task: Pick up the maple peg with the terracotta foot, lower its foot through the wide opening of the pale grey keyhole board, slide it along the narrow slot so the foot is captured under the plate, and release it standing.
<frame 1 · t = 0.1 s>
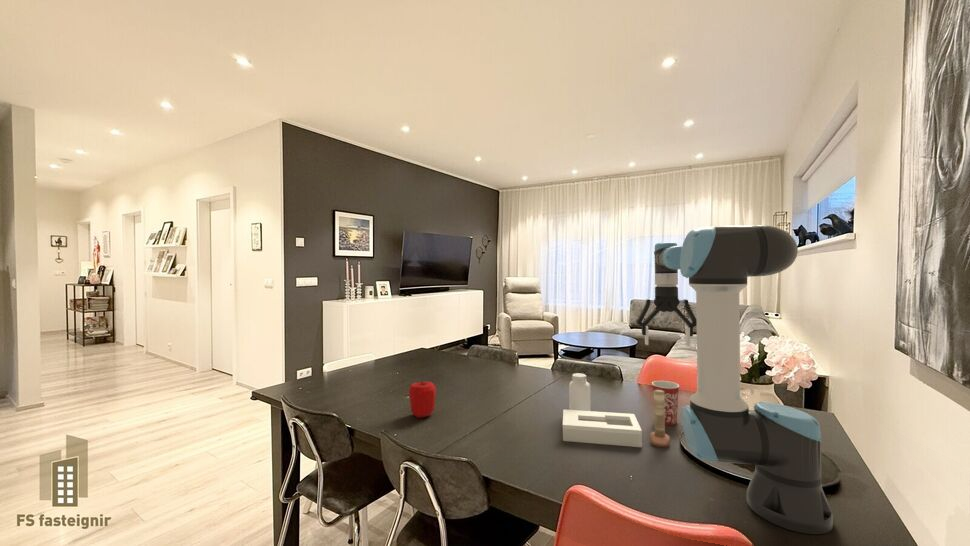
hand: (667, 345, 136), 28 cm above the table, fingers open, 13 cm apart
red rounded lump: (422, 416, 146), on the table
pill bottle: (579, 414, 146), on the table
peg: (659, 443, 120), on the table
keyhole board: (599, 434, 127), on the table
mug: (666, 420, 139), on the table
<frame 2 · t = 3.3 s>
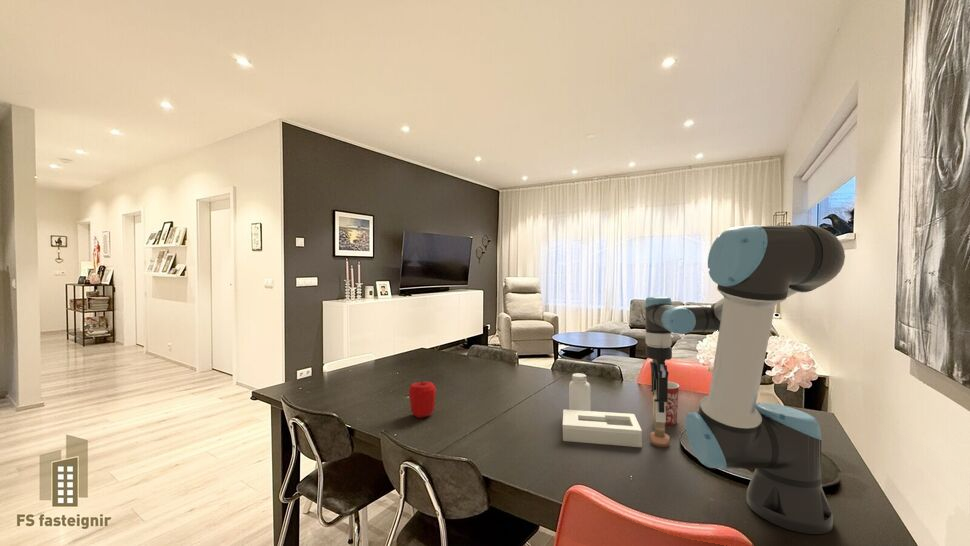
hand: (659, 419, 120), 8 cm above the table, fingers closed on peg, 3 cm apart
peg: (659, 443, 120), on the table, touching gripper
everything else where it was.
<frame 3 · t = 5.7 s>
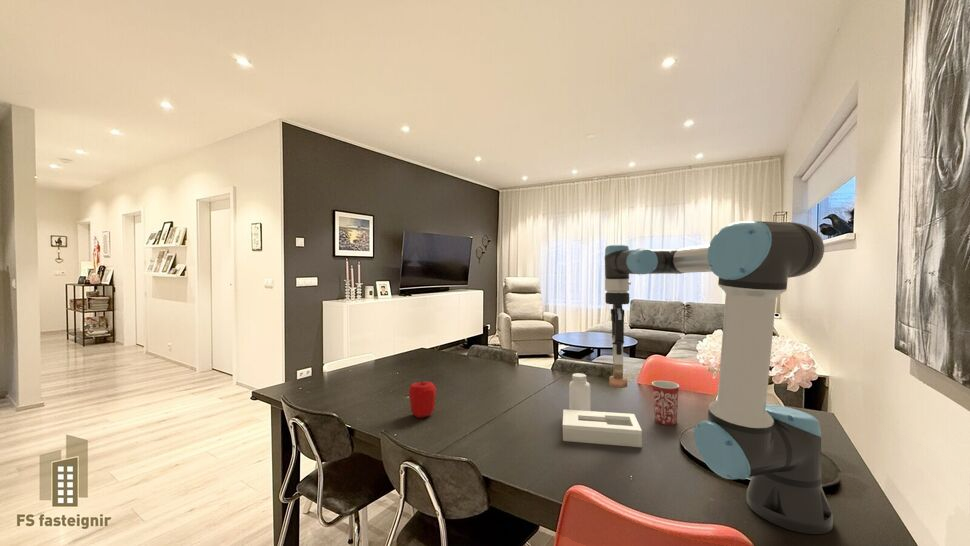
hand: (617, 362, 125), 24 cm above the table, fingers closed on peg, 3 cm apart
peg: (618, 385, 125), point 17 cm above the table, touching gripper
everything else where it was.
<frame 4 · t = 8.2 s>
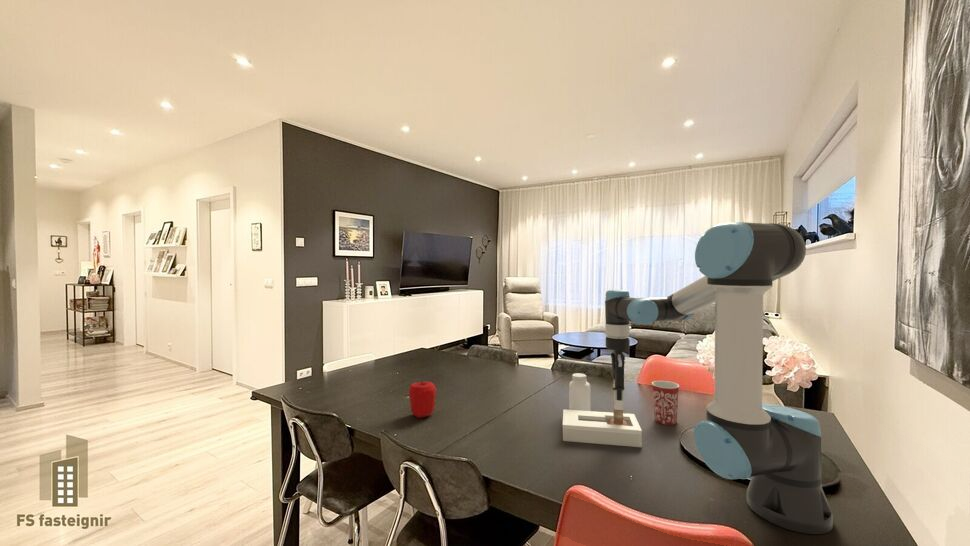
hand: (618, 407, 126), 10 cm above the table, fingers closed on peg, 3 cm apart
peg: (618, 429, 126), point 2 cm above the table, touching gripper
everything else where it was.
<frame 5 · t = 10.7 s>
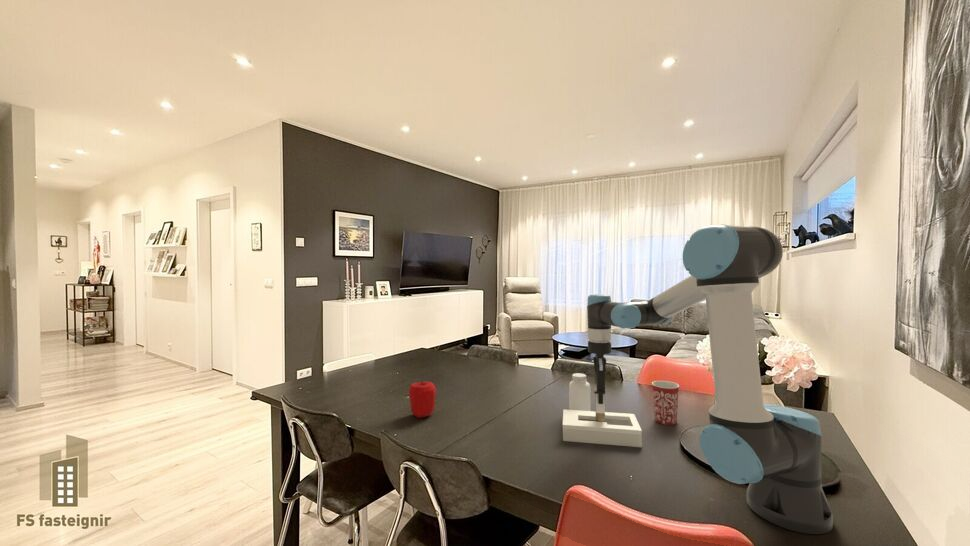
hand: (600, 410, 127), 8 cm above the table, fingers closed on peg, 3 cm apart
peg: (600, 433, 127), resting in keyhole board, touching gripper
everything else where it was.
when the fingers open (8 cm above the table, at t = 12.9 s): peg stays where it is, resting in keyhole board.
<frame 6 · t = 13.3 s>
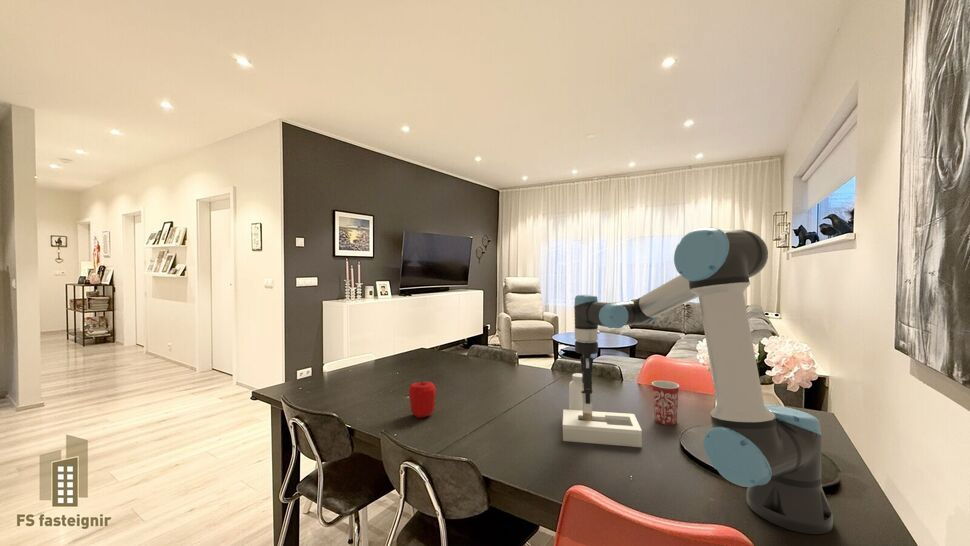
hand: (587, 407, 128), 9 cm above the table, fingers open, 9 cm apart
peg: (587, 433, 128), resting in keyhole board
everything else where it was.
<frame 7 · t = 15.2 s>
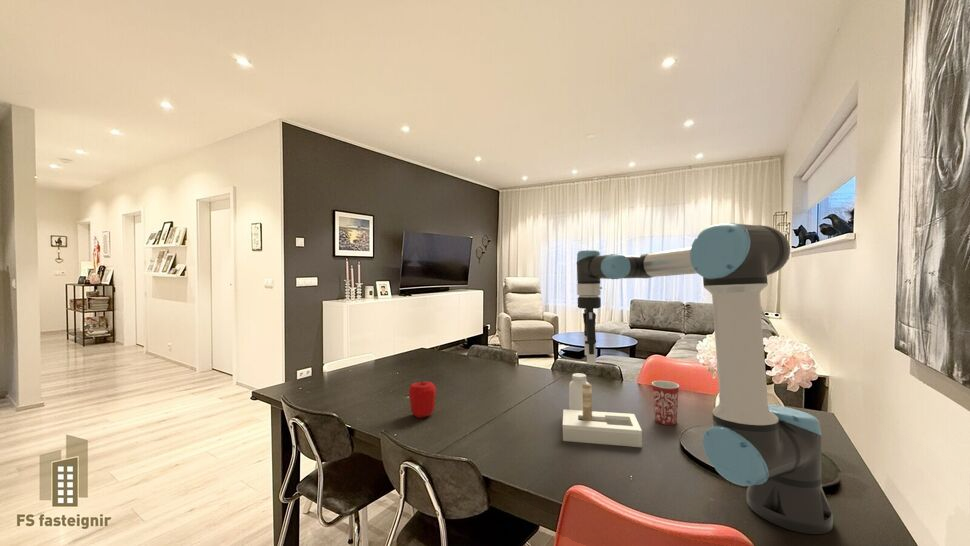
hand: (590, 359, 128), 25 cm above the table, fingers open, 13 cm apart
nothing on the table moved.
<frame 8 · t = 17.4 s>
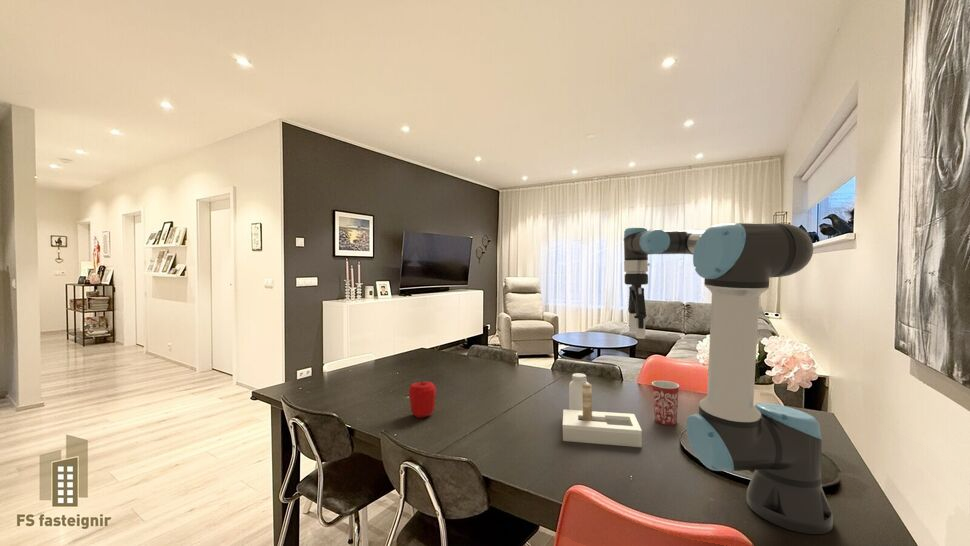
hand: (636, 335, 130), 33 cm above the table, fingers open, 13 cm apart
nothing on the table moved.
at the end: peg 0.5 cm from the target spot on the keyhole board, point 0.0 cm above the keyhole board's base; peg tilted 0°; the gripper is holding nothing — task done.
